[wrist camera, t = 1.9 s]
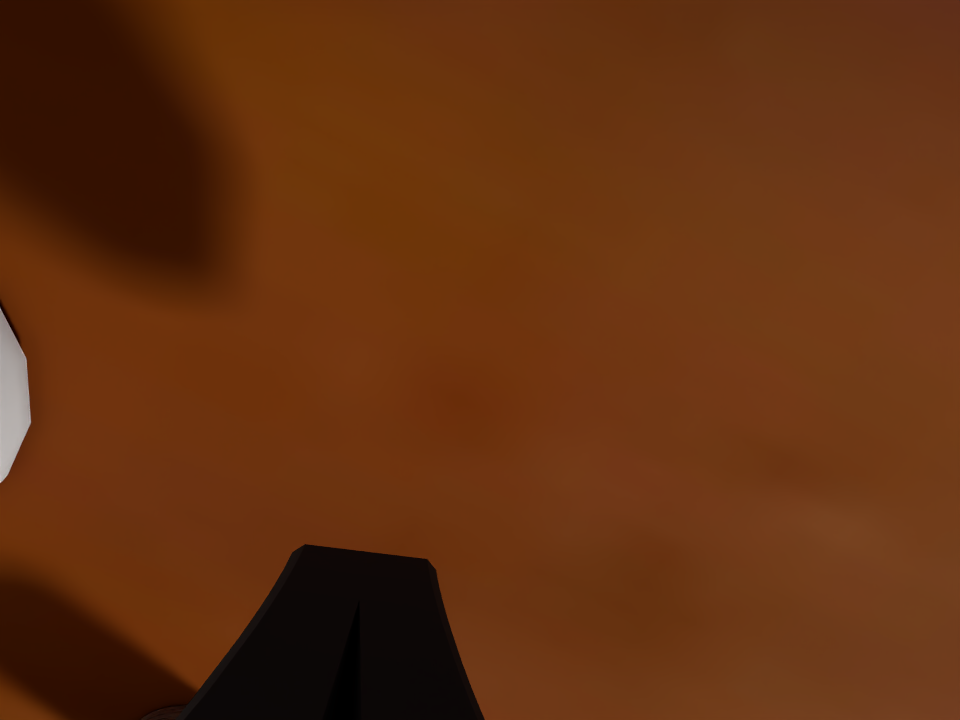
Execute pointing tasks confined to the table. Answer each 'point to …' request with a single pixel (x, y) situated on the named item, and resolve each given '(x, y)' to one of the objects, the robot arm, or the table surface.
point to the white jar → (12, 397)
